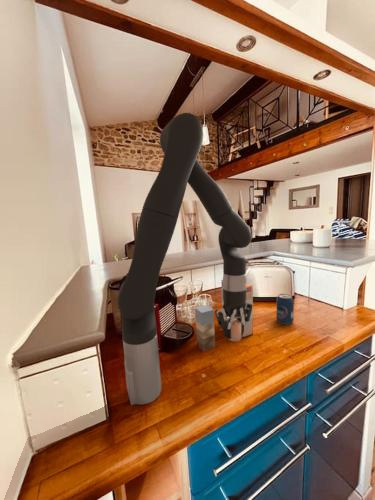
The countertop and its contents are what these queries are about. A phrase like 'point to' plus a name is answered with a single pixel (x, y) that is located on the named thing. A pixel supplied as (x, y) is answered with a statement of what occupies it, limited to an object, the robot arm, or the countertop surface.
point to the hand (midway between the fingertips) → (234, 335)
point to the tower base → (206, 342)
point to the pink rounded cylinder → (235, 330)
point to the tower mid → (205, 330)
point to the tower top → (204, 315)
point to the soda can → (285, 308)
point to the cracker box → (248, 325)
